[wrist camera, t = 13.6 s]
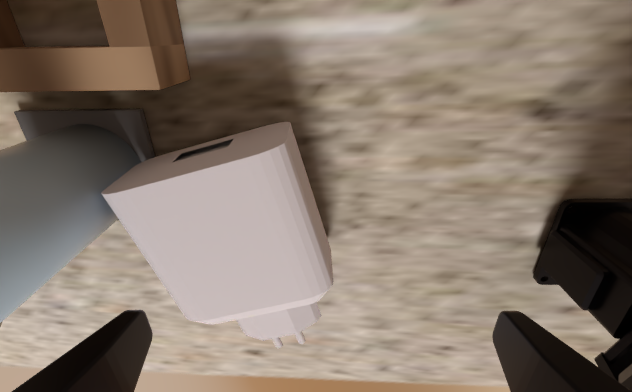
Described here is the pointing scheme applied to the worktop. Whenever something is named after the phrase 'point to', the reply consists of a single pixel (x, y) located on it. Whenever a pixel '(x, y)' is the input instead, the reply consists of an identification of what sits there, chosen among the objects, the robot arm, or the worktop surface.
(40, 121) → the rubber mat
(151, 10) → the block
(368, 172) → the worktop surface
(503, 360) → the robot arm
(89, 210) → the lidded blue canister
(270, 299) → the charger
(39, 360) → the worktop surface
